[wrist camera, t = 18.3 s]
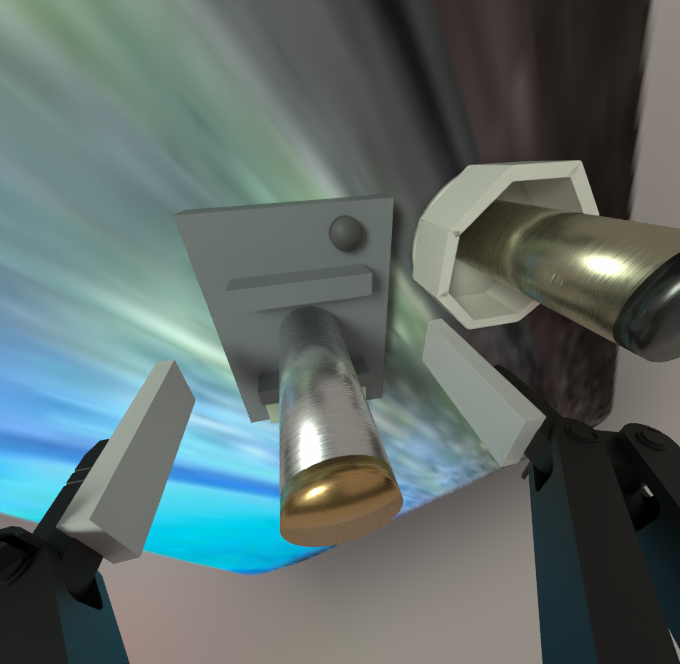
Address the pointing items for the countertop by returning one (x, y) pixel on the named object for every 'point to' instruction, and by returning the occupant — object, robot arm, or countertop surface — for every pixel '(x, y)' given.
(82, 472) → the robot arm
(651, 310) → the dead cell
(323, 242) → the cradle
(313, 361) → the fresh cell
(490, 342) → the countertop surface
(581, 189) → the white octagonal bowl
